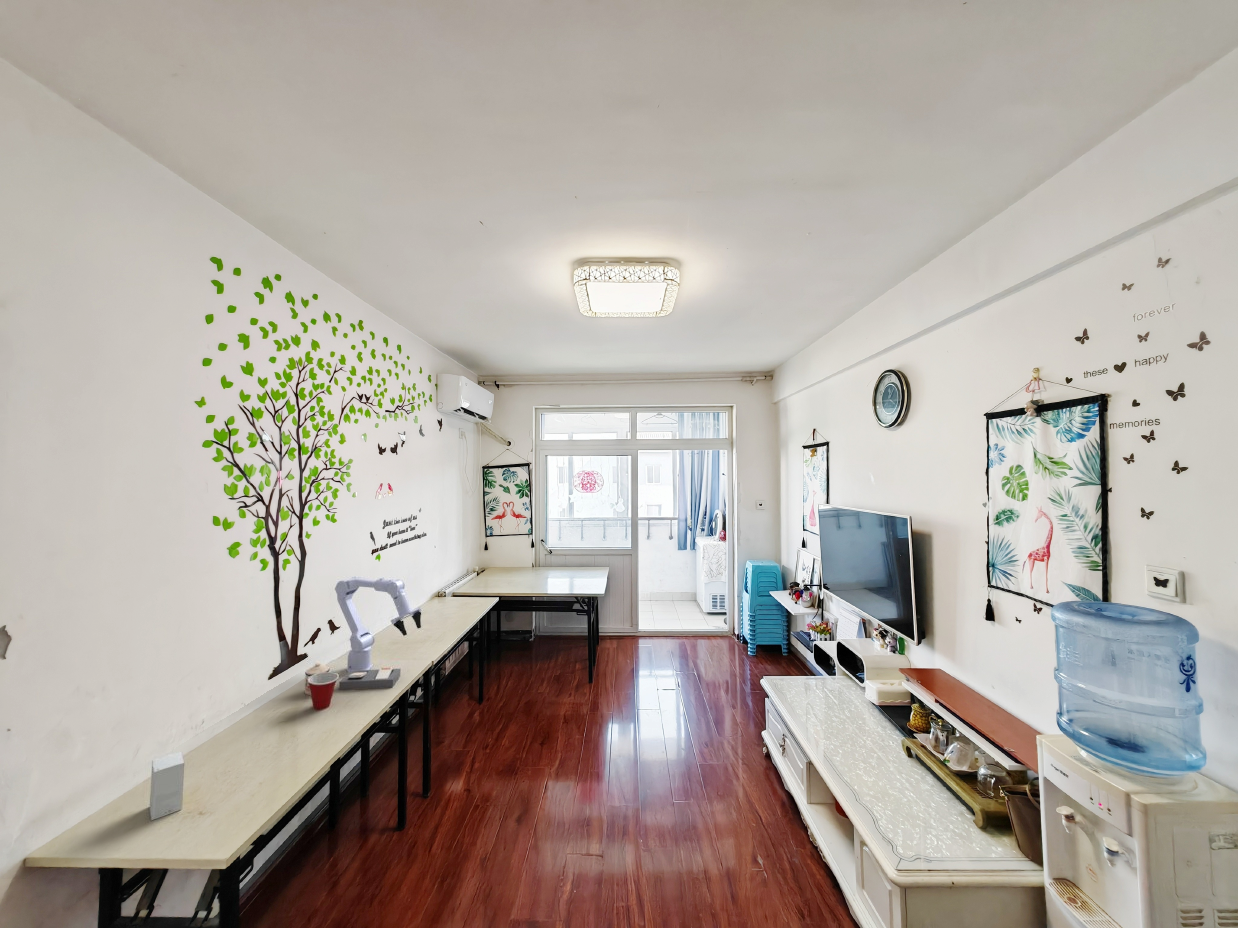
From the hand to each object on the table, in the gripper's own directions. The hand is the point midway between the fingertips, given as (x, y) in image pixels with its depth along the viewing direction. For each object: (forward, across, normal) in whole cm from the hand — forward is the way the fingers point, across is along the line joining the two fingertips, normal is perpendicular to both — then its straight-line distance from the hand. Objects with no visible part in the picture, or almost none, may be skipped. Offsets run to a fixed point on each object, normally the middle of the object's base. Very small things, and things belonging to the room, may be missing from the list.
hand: (412, 631), depth 227 cm
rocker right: (+12, -16, +6) cm, 21 cm away
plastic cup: (+11, -43, +5) cm, 45 cm away
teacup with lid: (+6, -36, +19) cm, 42 cm away
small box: (+12, -96, -22) cm, 99 cm away
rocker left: (+7, -23, +14) cm, 27 cm away
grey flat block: (+13, -20, +11) cm, 26 cm away
